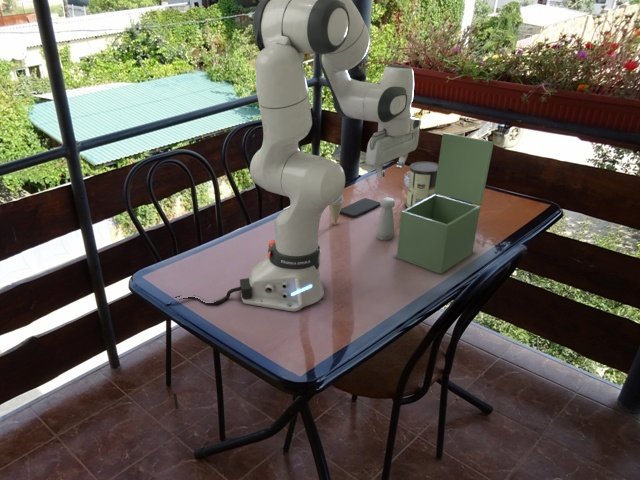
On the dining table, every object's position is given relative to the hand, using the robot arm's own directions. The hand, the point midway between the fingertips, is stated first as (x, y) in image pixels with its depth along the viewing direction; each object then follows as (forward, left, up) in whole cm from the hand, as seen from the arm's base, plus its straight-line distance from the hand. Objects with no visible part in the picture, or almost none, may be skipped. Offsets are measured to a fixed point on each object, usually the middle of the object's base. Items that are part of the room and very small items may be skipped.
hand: (390, 172), depth 165 cm
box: (+14, -11, -21) cm, 28 cm away
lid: (+19, -4, +3) cm, 20 cm away
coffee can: (+13, +26, -22) cm, 36 cm away
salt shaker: (0, 0, -22) cm, 22 cm away
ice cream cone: (-16, +9, -22) cm, 28 cm away
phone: (-8, +22, -21) cm, 32 cm away
